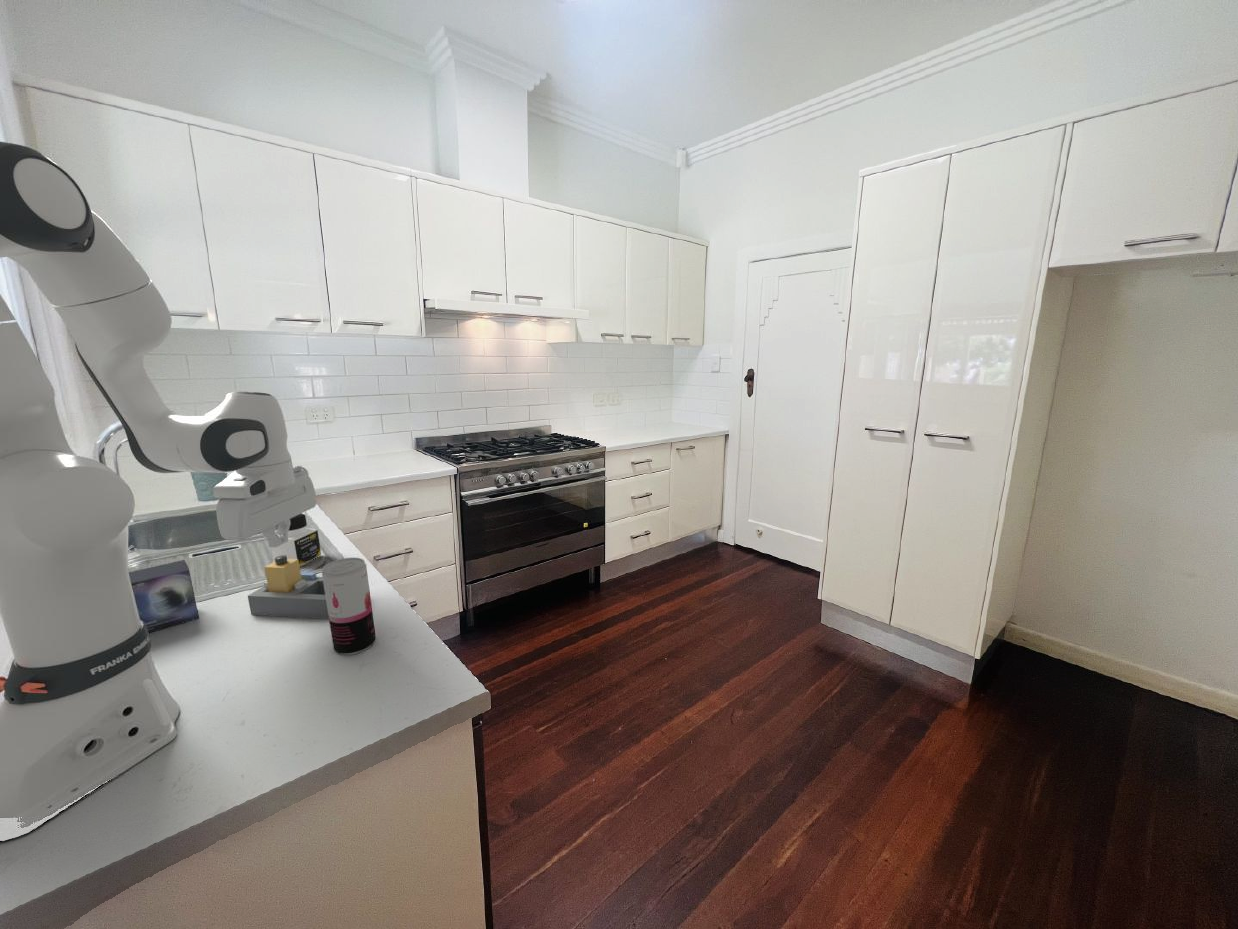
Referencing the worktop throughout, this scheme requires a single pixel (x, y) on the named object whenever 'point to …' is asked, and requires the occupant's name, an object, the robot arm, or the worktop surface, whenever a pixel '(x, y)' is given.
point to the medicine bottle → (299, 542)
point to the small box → (164, 595)
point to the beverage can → (349, 605)
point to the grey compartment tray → (292, 599)
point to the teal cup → (207, 484)
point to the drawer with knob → (283, 574)
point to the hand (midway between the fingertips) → (279, 544)
